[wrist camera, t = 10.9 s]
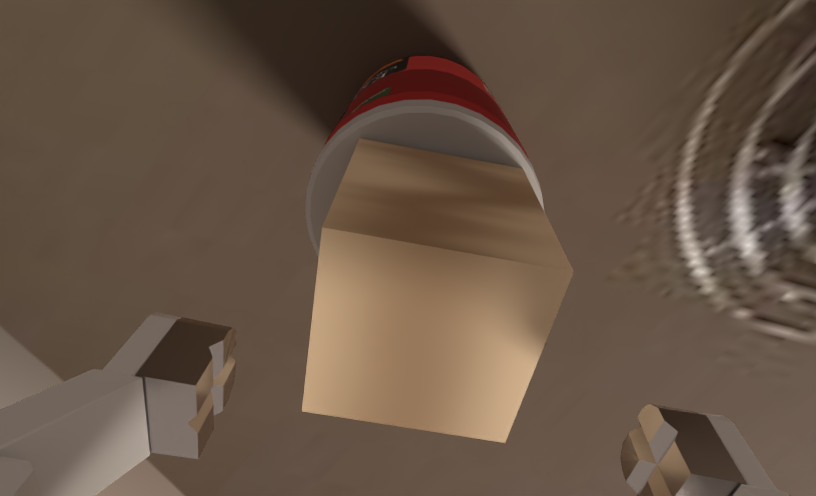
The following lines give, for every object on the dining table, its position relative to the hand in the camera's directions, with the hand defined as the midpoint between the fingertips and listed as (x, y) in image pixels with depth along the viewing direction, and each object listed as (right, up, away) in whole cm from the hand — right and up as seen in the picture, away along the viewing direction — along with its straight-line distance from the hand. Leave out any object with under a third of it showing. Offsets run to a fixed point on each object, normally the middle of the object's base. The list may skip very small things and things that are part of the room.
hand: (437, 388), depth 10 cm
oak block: (0, +3, +6) cm, 7 cm away
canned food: (0, +9, +16) cm, 18 cm away
